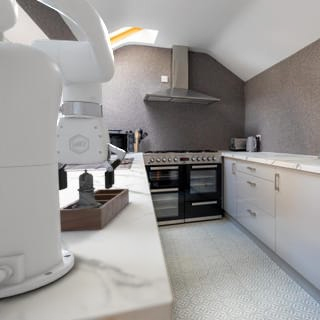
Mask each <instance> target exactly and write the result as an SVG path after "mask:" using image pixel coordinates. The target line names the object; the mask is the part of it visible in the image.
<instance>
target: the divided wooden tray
mask: <svg viewBox="0 0 320 320" xmlns="http://www.w3.org/2000/svg"><path fill="white" fill-rule="evenodd" d="M94 198H95V201H96V202H97V203H101V204H102V205H101V206H100V208H92V209H72V207H73V206H74V205H77V204H78V201H79V198H78V199H77V200H74V201H73V202H71V203H68V204H66V205H64V206H62V207H60V225H61V232H67V231H85V230H102V229H103V228H104V227H105V226H106V225H107V224H108V223H109V222H110V221H111V220H112V219H113V218H114V217H116V216H117V215H118V214H119V213H120V212H121V211H122V210H123V209H124V208H125V207H126V206H127V205H128V204H129V203H130V191H129V188H110V189H105V188H103V189H100V188H99V189H95V190H94Z"/></svg>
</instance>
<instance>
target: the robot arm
mask: <svg viewBox="0 0 320 320" xmlns="http://www.w3.org/2000/svg"><path fill="white" fill-rule="evenodd" d="M37 1H38V2H40V3H42V4H44V5H45V6H47V7H50V8H52V9H54V10H55V11H57V12H58V13H60V14H61V15H63V16H64V17H66V18H67V19H69V20H70V21H71V22H73V23H74V24H75V25H76V26H77V27H78V28H79V30H80V31H81V32H82V33H83V35H84V36H85V38H86V41H81V40H67V39H64V40H63V39H50V38H49V39H45V38H42V39H36V40H33V41H31V42H30V43H28V44H23V43H20V42H13V41H1V40H0V299H2V298H8V297H13V296H15V295H20V294H24V293H27V292H30V291H34V290H37V289H38V288H41V287H44V286H46V285H48V284H50V283H52V282H55V281H56V280H58V279H60V278H62V277H63V276H65V275H66V274H67V273H68V272H70V270H72V268H73V267H74V265H75V255H74V254H73V253H72V251H70V250H66V249H63V247H62V231H61V225H60V208H61V204H60V202H61V201H60V191H63V190H65V189H68V187H69V186H68V171H67V170H65V169H66V168H67V167H68V166H69V165H76V164H77V165H79V164H82V165H83V164H84V165H85V164H86V165H87V164H91V165H93V164H101V165H102V166H103V168H104V169H105V170H106V171H104V189H113V186H114V185H115V171H116V169H117V168H119V166H121V165H122V163H123V161H124V160H125V158H126V155H127V151H126V150H124V149H121V148H119V147H118V146H115V145H113V144H111V139H110V133H109V128H108V127H109V126H108V124H107V119H105V118H103V117H104V116H103V115H104V114H103V87H102V86H103V84H105V83H108V82H110V81H111V80H112V79H113V77H114V76H115V72H116V70H115V69H116V64H115V57H114V53H113V49H112V45H111V41H110V37H109V33H108V29H107V27H106V25H105V23H104V21H103V19H102V17H101V15H100V14H99V13H98V11H97V10H96V8H95V7H94V5H93V4H92V3H91V2H90V1H89V0H37ZM18 7H19V6H18V3H17V0H0V34H1V33H5V32H7V31H9V30H11V29H13V28H14V27H15V26H16V24H17V23H18V20H19V8H18ZM61 101H62V103H61ZM60 114H61V115H62V117H59V115H60ZM112 153H114V154H116V155H117V157H116V158H115V160H114V161H113V162H112V160H111V156H112Z"/></svg>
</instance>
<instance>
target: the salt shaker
mask: <svg viewBox="0 0 320 320" xmlns="http://www.w3.org/2000/svg"><path fill="white" fill-rule="evenodd" d="M78 187H79V188H78V189H77V190H76V191H77V192H78V199H79V201H78V204H77V205H74V206H73V207H72V209H92V208H100V206H101V205H102V204H101V203H97V202H96V201H95V198H94V191H96V187H94V175H93V174H92V173H89V172H88V169H87V168H85V169H84V172H83V173H81V174H80V175H79V176H78Z"/></svg>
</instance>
